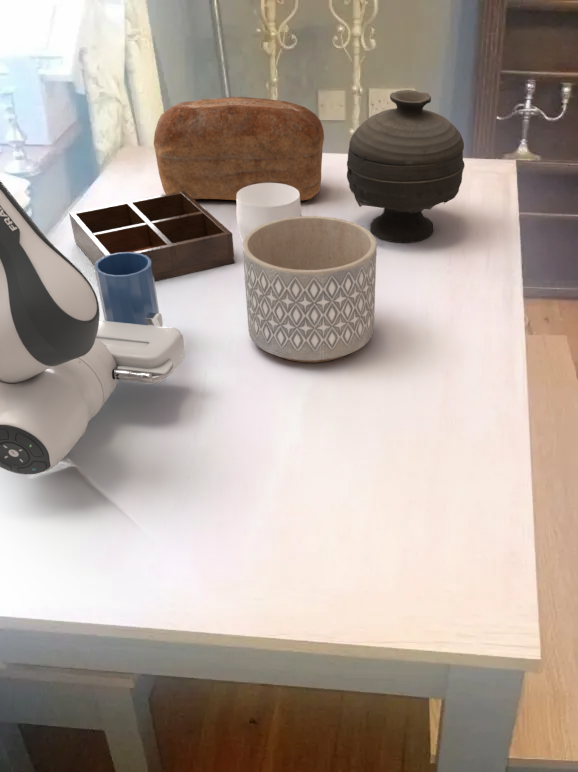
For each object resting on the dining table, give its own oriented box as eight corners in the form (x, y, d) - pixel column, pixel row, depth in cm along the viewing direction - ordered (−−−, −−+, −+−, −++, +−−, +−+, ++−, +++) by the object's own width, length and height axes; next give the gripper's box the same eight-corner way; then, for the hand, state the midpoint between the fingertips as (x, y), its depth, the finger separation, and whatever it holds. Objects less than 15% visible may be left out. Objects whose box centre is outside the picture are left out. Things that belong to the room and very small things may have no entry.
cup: (276, 299, 126) (271, 212, 118) (228, 281, 130) (221, 197, 122) (315, 276, 132) (314, 192, 123) (268, 260, 135) (264, 177, 127)
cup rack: (114, 290, 128) (108, 259, 125) (75, 242, 140) (68, 212, 137) (234, 262, 135) (232, 233, 132) (187, 218, 146) (184, 190, 143)
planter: (399, 340, 118) (404, 245, 109) (303, 384, 110) (300, 285, 101) (318, 296, 127) (317, 205, 118) (224, 334, 119) (215, 239, 110)
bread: (323, 208, 150) (322, 114, 140) (156, 205, 150) (143, 112, 140) (326, 181, 158) (325, 91, 148) (168, 179, 159) (156, 89, 149)
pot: (468, 207, 148) (477, 74, 133) (450, 261, 137) (457, 124, 122) (363, 199, 152) (359, 69, 137) (337, 252, 141) (330, 117, 125)
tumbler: (120, 364, 114) (105, 280, 106) (103, 340, 118) (87, 259, 110) (171, 351, 116) (159, 268, 108) (152, 328, 120) (139, 247, 113)
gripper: (159, 356, 97) (198, 298, 107) (-15, 337, 100) (38, 282, 110) (167, 406, 102) (203, 346, 112) (0, 387, 105) (49, 330, 114)
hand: (120, 314), depth 111 cm, fingers open, 8 cm apart
